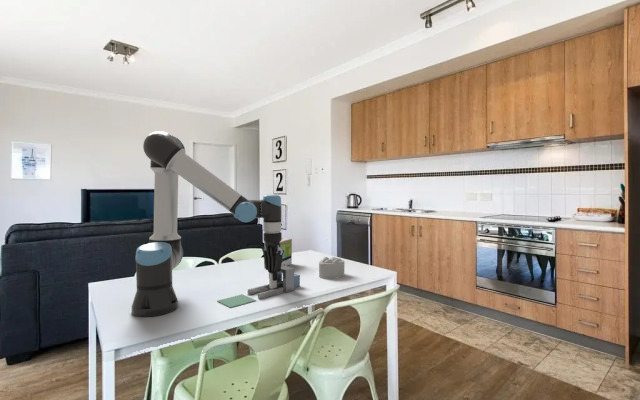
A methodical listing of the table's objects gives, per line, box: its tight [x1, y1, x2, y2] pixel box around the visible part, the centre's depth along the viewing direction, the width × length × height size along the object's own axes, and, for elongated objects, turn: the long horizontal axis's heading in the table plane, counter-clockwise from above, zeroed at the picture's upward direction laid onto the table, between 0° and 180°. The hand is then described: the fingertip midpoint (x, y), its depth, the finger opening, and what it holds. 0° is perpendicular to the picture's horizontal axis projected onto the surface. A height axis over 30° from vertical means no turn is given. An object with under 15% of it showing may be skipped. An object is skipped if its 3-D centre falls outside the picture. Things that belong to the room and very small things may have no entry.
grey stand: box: [247, 265, 295, 300], centre depth 143 cm, size 17×10×10 cm, turn 134°
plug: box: [273, 272, 301, 289], centre depth 149 cm, size 12×4×5 cm, turn 134°
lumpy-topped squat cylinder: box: [318, 256, 345, 280], centre depth 169 cm, size 10×13×9 cm
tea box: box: [263, 237, 293, 269], centre depth 189 cm, size 15×10×15 cm
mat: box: [217, 294, 257, 309], centre depth 132 cm, size 11×10×1 cm
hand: (273, 287), depth 144 cm, fingers closed
